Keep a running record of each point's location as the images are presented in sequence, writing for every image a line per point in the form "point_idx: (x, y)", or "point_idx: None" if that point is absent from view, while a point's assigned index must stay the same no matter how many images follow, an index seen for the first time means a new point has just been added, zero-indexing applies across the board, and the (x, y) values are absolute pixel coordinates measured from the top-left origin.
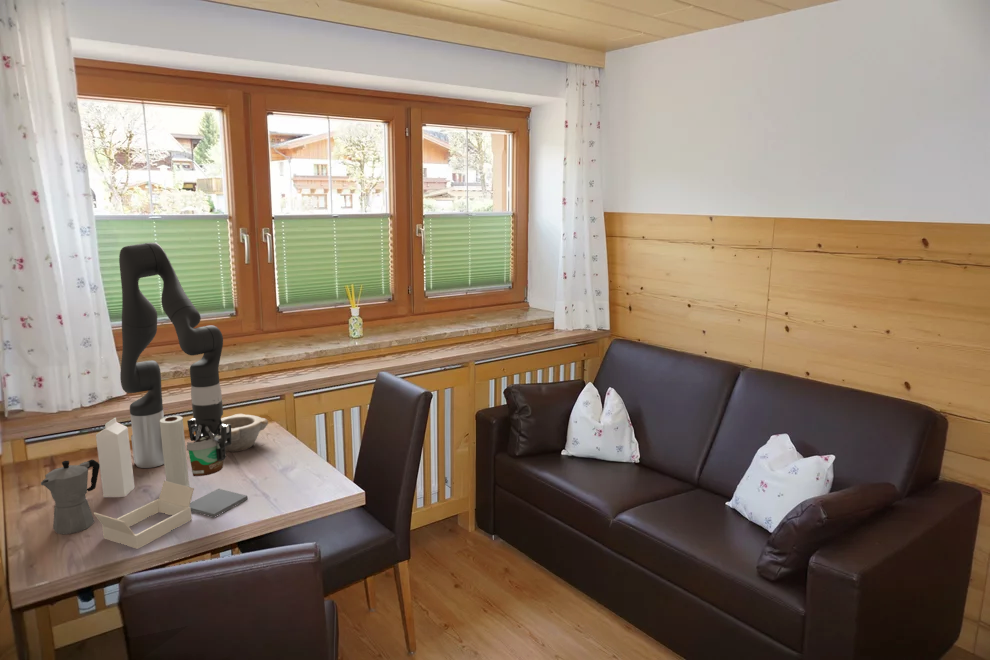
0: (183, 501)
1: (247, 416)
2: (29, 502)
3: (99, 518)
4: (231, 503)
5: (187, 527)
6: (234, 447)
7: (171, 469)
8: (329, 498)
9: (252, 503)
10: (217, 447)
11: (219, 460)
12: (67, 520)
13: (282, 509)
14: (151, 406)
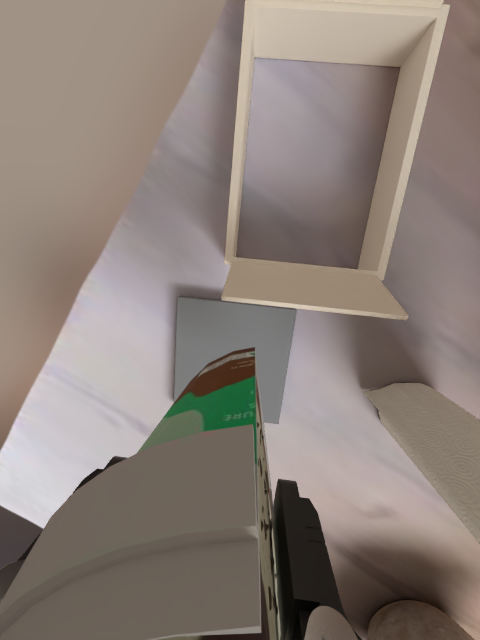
0: (259, 270)
1: None
2: None
3: None
4: (179, 363)
5: (207, 223)
6: (398, 618)
7: (463, 431)
8: (8, 456)
9: (148, 389)
10: (9, 577)
11: (112, 460)
12: None
13: (59, 384)
14: None
